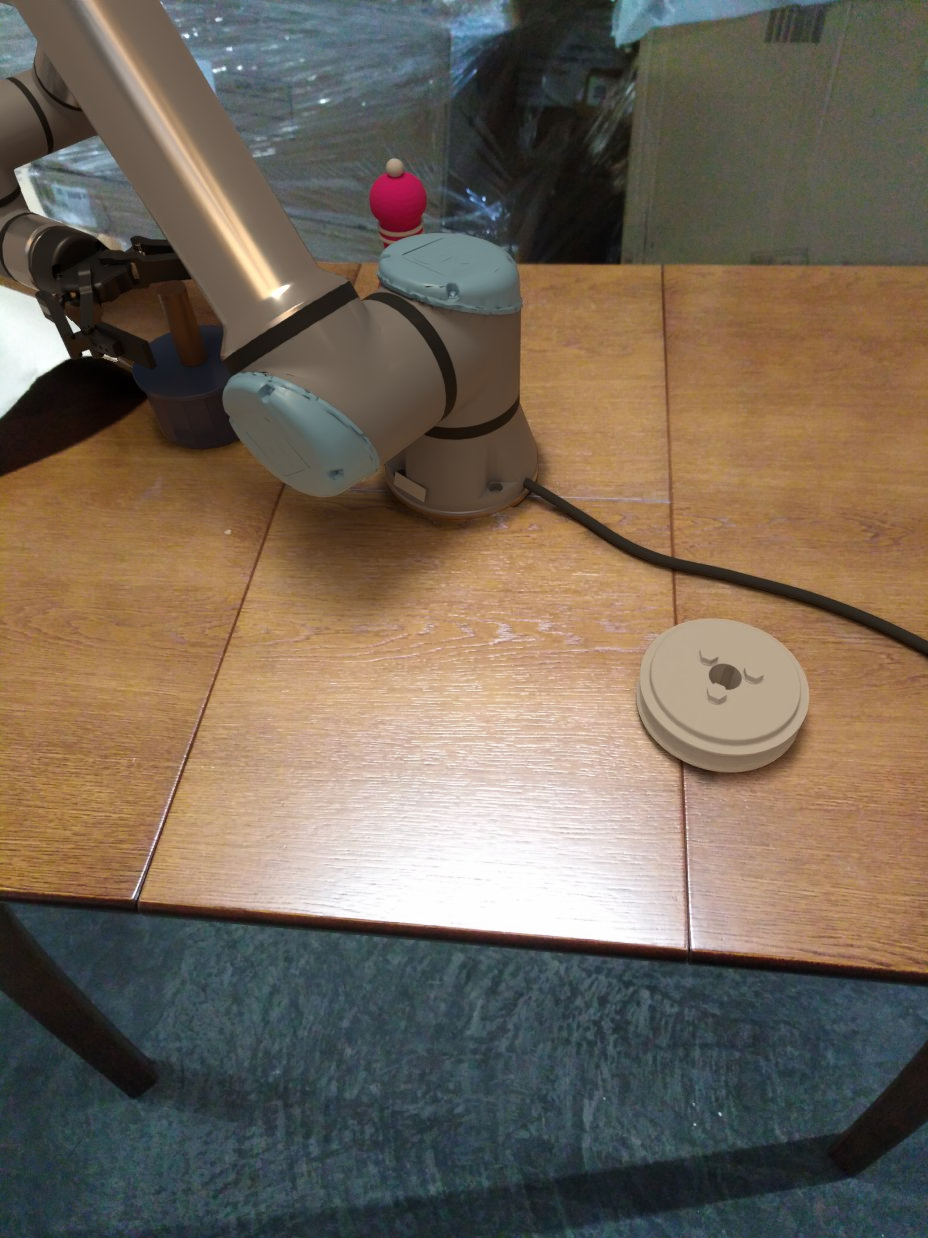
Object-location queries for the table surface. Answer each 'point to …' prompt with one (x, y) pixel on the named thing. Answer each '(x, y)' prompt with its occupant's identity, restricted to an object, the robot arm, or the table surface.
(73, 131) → the robot arm
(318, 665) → the table surface
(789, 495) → the table surface
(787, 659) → the beige round base
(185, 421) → the bowl
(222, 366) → the bowl lid
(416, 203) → the pepper mill
